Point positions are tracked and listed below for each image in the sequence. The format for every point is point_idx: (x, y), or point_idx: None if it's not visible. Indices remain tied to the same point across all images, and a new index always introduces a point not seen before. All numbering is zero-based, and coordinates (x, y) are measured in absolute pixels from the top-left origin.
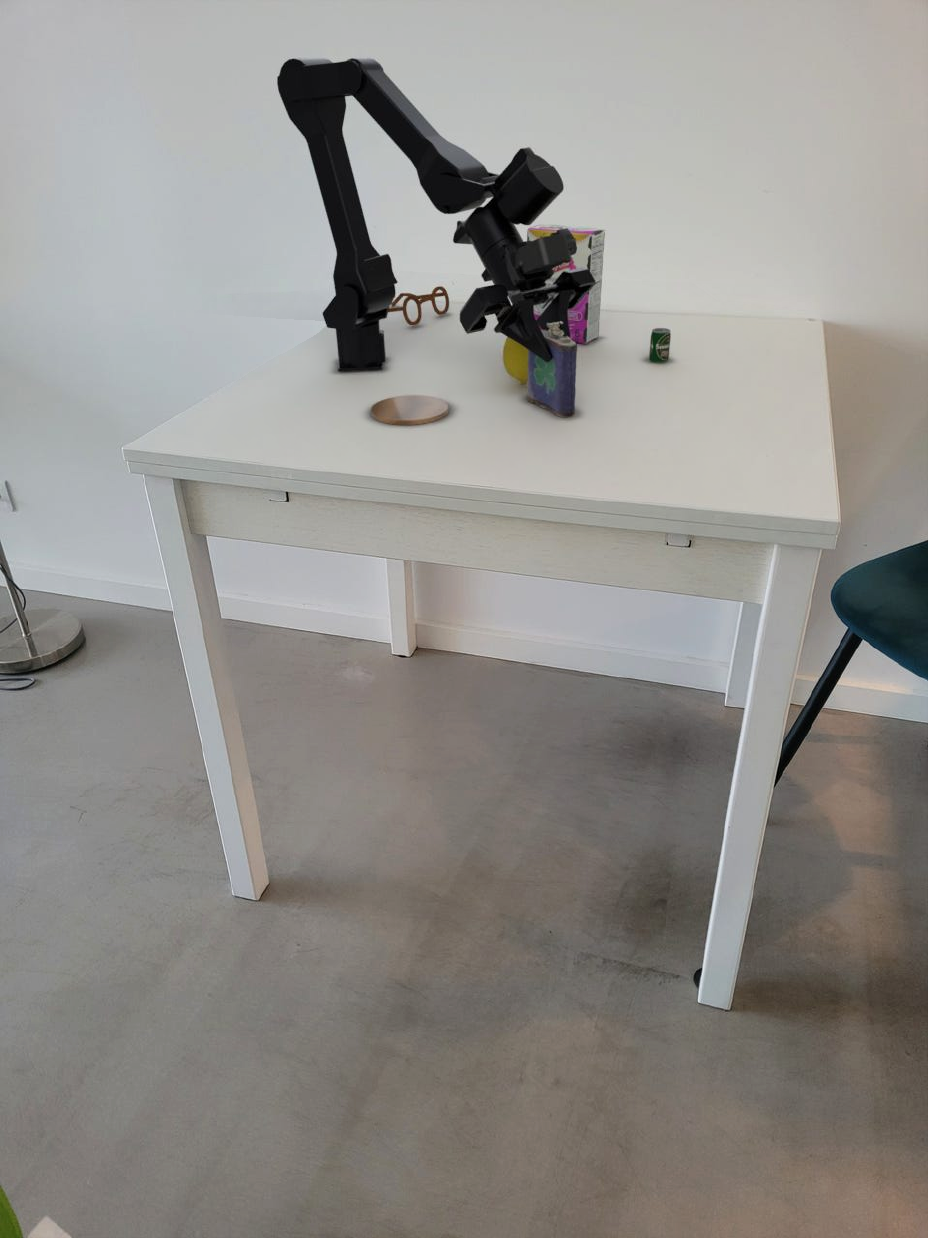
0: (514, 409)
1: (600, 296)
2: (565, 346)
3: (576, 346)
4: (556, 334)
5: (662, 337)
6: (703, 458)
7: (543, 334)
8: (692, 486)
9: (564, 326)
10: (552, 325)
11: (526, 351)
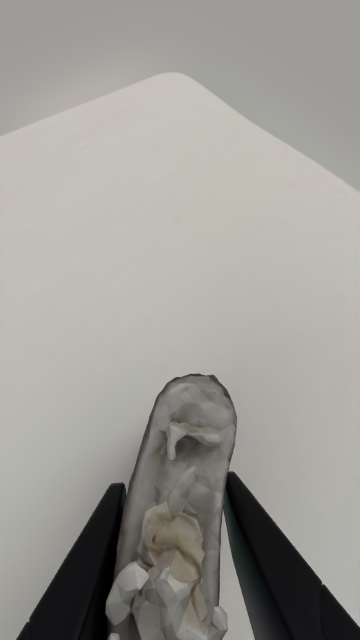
0: None
1: None
2: (223, 390)
3: (173, 379)
4: (195, 519)
5: None
6: (149, 176)
7: None
8: (221, 143)
9: (67, 619)
10: (189, 605)
11: None
